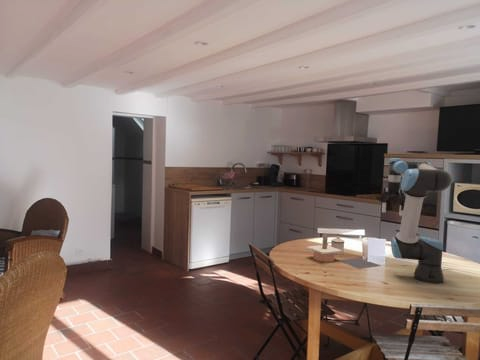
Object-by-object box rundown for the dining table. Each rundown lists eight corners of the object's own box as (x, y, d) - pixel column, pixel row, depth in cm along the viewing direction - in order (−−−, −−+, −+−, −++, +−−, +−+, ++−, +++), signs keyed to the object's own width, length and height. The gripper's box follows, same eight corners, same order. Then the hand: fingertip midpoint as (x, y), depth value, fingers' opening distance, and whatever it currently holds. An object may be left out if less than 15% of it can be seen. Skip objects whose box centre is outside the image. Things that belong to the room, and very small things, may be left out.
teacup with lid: (343, 252, 261) (344, 236, 260) (344, 255, 252) (345, 238, 252) (326, 250, 264) (327, 234, 263) (326, 253, 255) (327, 237, 254)
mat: (381, 266, 228) (381, 265, 228) (359, 269, 219) (359, 268, 219) (359, 258, 245) (359, 257, 245) (337, 261, 236) (337, 260, 236)
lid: (342, 252, 234) (343, 236, 234) (322, 254, 227) (323, 238, 226) (326, 246, 249) (326, 231, 248) (307, 248, 241) (307, 233, 241)
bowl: (338, 261, 235) (339, 251, 235) (322, 263, 229) (323, 253, 229) (325, 256, 247) (325, 247, 247) (309, 258, 241) (310, 248, 241)
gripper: (414, 183, 230) (412, 216, 231) (382, 180, 252) (380, 210, 253) (407, 183, 226) (404, 216, 227) (375, 180, 248) (373, 211, 249)
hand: (392, 213), depth 240 cm, fingers open, 13 cm apart
